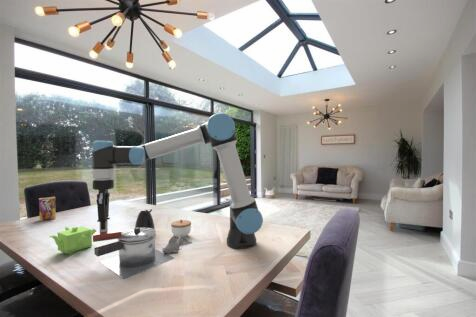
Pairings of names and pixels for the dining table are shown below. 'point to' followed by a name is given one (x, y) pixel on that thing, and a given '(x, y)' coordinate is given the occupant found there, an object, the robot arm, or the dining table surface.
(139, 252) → the pot
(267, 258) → the dining table surface
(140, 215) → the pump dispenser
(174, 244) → the goldfish
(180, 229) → the lidded jar
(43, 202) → the candy box
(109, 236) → the lid
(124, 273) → the trivet
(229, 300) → the dining table surface
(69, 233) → the kettle
